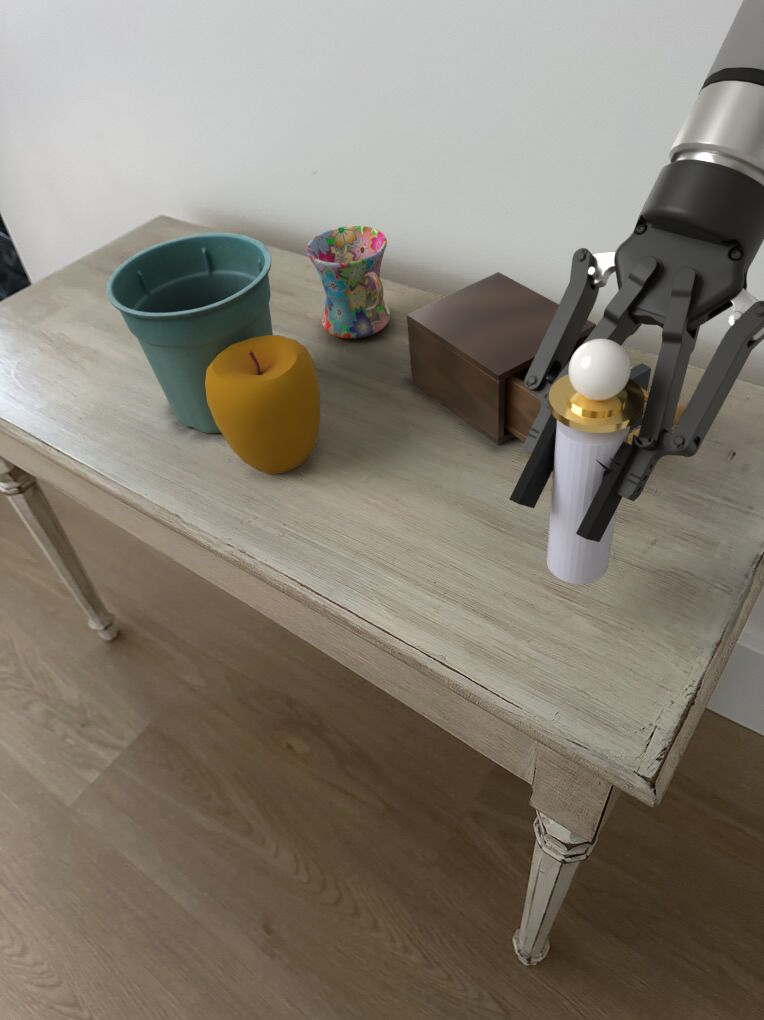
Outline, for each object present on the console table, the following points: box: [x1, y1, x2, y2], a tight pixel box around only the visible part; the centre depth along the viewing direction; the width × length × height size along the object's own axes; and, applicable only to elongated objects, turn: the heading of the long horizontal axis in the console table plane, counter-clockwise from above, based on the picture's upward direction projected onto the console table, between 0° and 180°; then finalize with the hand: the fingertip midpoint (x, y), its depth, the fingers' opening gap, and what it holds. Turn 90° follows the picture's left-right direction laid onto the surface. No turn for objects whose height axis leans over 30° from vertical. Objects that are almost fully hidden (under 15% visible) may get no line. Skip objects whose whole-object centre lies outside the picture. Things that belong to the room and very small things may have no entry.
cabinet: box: [406, 271, 597, 446], centre depth 83 cm, size 15×13×9 cm
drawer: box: [504, 338, 687, 473], centre depth 76 cm, size 20×11×7 cm, turn 35°
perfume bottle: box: [546, 338, 646, 585], centre depth 53 cm, size 6×6×20 cm
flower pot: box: [105, 232, 274, 434], centre depth 84 cm, size 16×16×16 cm
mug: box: [306, 225, 391, 340], centre depth 93 cm, size 12×9×11 cm
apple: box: [205, 334, 321, 475], centre depth 77 cm, size 11×11×13 cm
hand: (554, 519), depth 53 cm, fingers closed on perfume bottle, 4 cm apart
